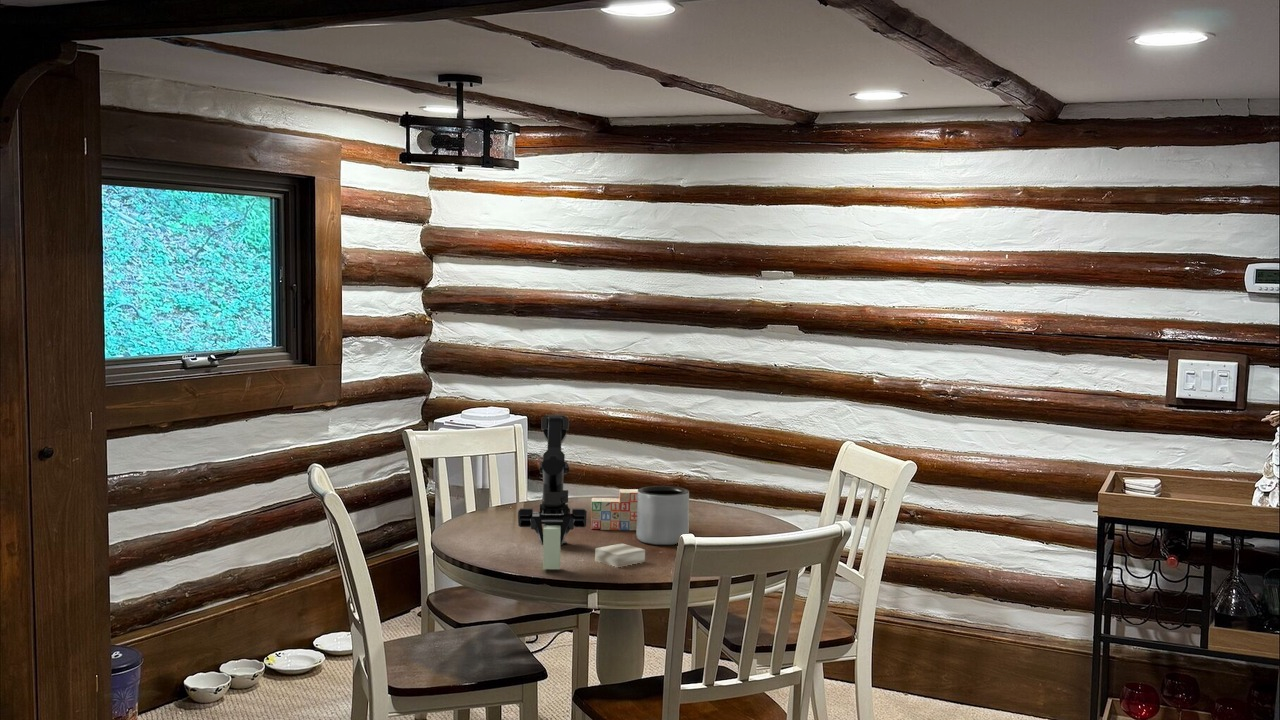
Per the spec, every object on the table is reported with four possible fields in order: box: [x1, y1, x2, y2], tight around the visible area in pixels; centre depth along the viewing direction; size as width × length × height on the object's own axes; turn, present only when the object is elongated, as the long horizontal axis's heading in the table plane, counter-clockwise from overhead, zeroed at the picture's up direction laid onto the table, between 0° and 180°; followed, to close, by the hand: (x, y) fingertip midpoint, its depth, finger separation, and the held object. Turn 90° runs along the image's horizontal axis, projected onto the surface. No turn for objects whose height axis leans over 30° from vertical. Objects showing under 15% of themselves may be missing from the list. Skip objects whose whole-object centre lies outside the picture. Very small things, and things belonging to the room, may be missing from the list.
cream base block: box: [594, 542, 646, 568], centre depth 315 cm, size 10×10×4 cm
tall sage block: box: [542, 524, 561, 570], centre depth 303 cm, size 5×5×11 cm
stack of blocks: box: [590, 488, 638, 531], centre depth 358 cm, size 21×6×12 cm, turn 92°
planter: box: [635, 485, 690, 546], centre depth 342 cm, size 16×16×16 cm
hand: (551, 544), depth 302 cm, fingers closed on tall sage block, 5 cm apart
